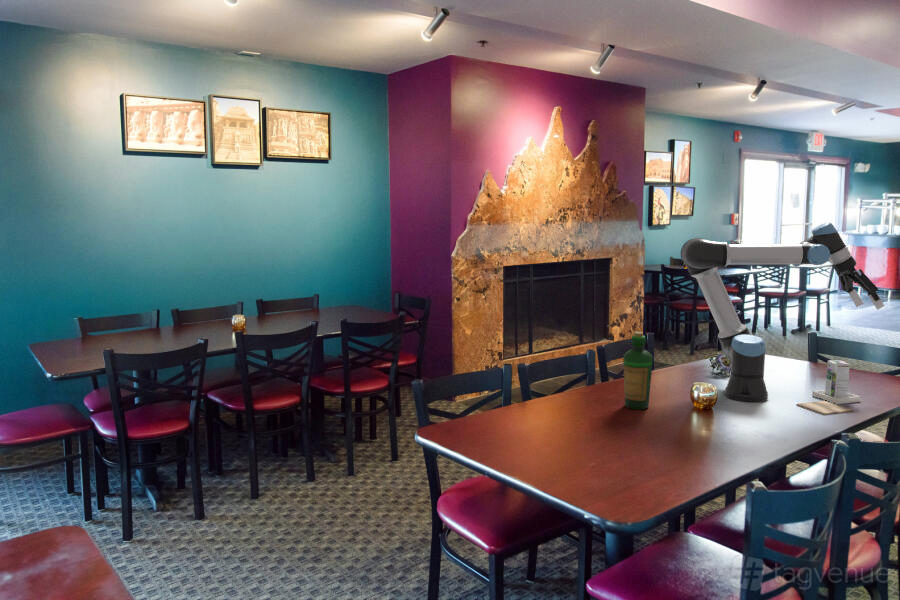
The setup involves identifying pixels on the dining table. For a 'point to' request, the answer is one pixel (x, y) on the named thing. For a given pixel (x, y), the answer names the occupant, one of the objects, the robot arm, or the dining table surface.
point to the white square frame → (848, 399)
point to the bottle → (637, 374)
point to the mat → (825, 407)
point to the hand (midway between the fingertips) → (870, 306)
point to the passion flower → (721, 364)
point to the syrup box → (837, 379)
